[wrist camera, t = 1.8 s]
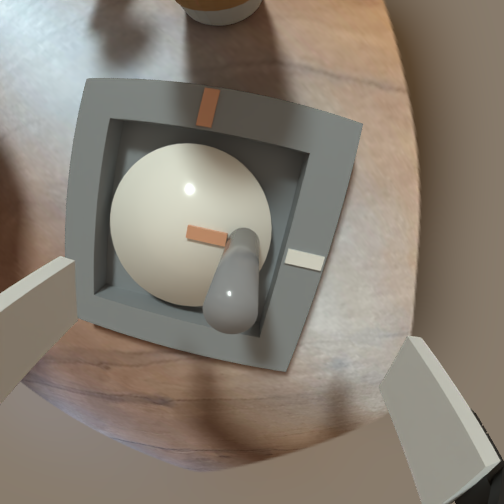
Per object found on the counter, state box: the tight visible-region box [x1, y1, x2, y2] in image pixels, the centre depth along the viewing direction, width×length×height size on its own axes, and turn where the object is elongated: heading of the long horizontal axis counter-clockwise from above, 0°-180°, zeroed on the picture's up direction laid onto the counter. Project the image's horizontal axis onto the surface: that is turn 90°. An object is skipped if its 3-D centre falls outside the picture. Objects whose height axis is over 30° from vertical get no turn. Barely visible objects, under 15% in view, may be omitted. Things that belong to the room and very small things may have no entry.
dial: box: [110, 143, 272, 334], centre depth 17 cm, size 12×12×11 cm
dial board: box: [65, 78, 363, 372], centre depth 21 cm, size 20×20×3 cm
